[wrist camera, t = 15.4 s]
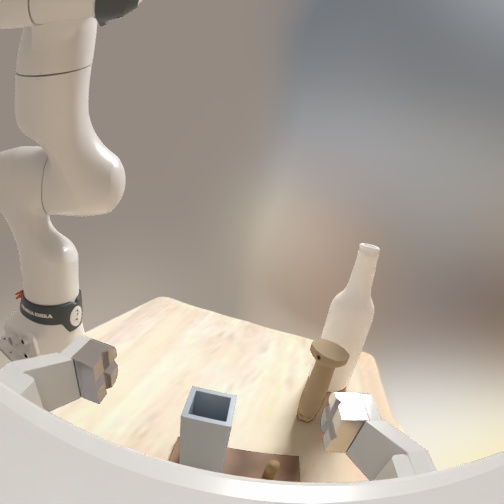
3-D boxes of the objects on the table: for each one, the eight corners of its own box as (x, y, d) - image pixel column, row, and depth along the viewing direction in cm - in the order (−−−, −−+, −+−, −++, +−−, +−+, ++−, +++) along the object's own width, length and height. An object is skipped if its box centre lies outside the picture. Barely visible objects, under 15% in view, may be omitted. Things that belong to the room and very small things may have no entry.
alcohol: (299, 379, 57) (339, 239, 50) (322, 365, 63) (359, 238, 56) (333, 399, 51) (384, 254, 44) (353, 382, 57) (398, 251, 50)
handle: (303, 402, 50) (326, 336, 46) (326, 422, 45) (355, 355, 41) (283, 410, 47) (305, 342, 43) (306, 432, 42) (335, 364, 38)
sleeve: (177, 476, 29) (178, 416, 26) (186, 447, 34) (191, 384, 31) (219, 485, 28) (233, 428, 25) (225, 455, 34) (238, 394, 31)
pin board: (162, 485, 27) (160, 469, 26) (178, 440, 36) (178, 422, 35) (298, 506, 27) (309, 492, 26) (296, 459, 36) (305, 443, 34)
